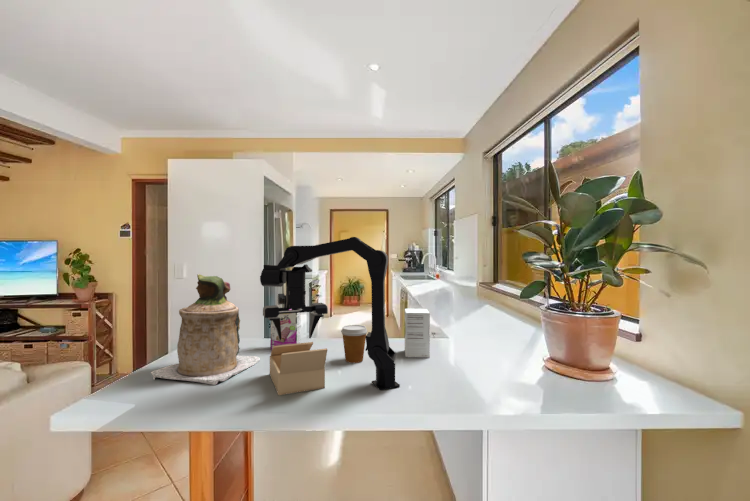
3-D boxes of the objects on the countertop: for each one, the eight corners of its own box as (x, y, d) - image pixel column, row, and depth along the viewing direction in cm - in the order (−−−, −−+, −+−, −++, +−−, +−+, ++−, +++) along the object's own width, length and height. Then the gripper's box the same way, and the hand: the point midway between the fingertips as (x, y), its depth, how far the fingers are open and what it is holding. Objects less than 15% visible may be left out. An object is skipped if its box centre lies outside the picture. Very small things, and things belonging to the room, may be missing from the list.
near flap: (323, 367, 101) (324, 368, 101) (279, 373, 96) (280, 374, 96) (327, 348, 98) (327, 349, 98) (281, 353, 93) (282, 354, 93)
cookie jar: (218, 386, 103) (219, 276, 103) (147, 380, 108) (147, 275, 108) (262, 361, 127) (262, 272, 127) (202, 357, 132) (202, 271, 132)
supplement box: (404, 350, 141) (404, 308, 141) (427, 350, 140) (427, 308, 141) (405, 357, 131) (405, 312, 131) (430, 357, 131) (430, 312, 131)
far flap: (270, 355, 113) (270, 354, 113) (309, 351, 118) (308, 349, 118) (273, 347, 108) (273, 345, 108) (313, 343, 113) (313, 341, 113)
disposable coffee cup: (366, 364, 123) (366, 330, 123) (339, 364, 123) (339, 330, 123) (367, 356, 132) (368, 324, 132) (342, 356, 132) (342, 324, 132)
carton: (324, 388, 101) (324, 367, 101) (278, 395, 96) (278, 373, 96) (309, 369, 118) (309, 351, 118) (269, 374, 113) (269, 355, 113)
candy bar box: (269, 350, 141) (269, 309, 141) (274, 346, 146) (274, 307, 146) (296, 350, 140) (297, 309, 140) (300, 347, 145) (300, 307, 145)
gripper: (318, 283, 119) (318, 330, 119) (260, 285, 111) (260, 335, 111) (328, 286, 109) (328, 337, 108) (265, 289, 101) (265, 343, 101)
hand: (295, 338), depth 107 cm, fingers open, 9 cm apart
